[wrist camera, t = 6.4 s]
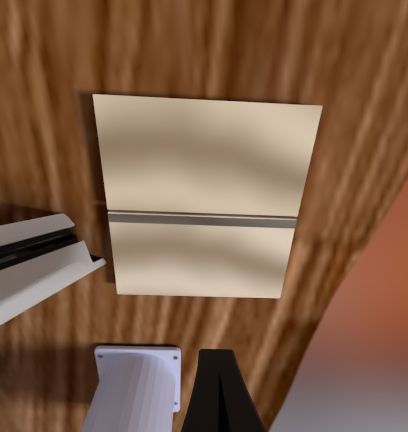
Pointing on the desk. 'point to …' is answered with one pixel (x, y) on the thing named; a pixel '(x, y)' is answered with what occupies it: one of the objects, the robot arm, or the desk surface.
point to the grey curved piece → (38, 262)
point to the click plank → (204, 154)
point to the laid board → (200, 253)
